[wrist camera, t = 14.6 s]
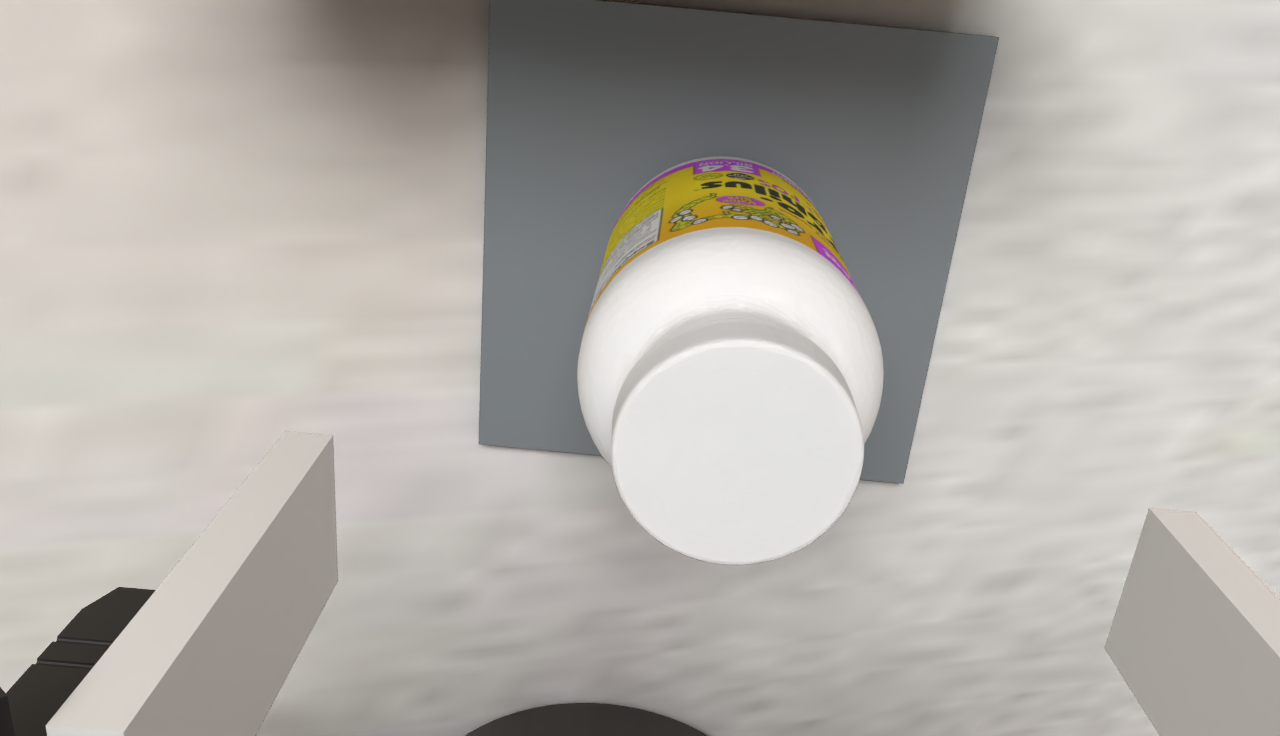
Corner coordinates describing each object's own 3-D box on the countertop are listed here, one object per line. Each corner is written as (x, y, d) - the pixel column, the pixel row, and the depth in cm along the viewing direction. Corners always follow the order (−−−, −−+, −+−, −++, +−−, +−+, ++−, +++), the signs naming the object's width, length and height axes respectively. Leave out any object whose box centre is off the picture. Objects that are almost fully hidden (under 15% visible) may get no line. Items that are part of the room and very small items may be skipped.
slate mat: (900, 477, 33) (903, 483, 33) (480, 438, 33) (478, 444, 33) (994, 36, 28) (998, 37, 27) (492, -11, 28) (490, -10, 27)
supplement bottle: (875, 242, 30) (1002, 438, 18) (732, 401, 32) (761, 668, 20) (699, 101, 28) (712, 211, 17) (562, 277, 31) (487, 485, 19)
